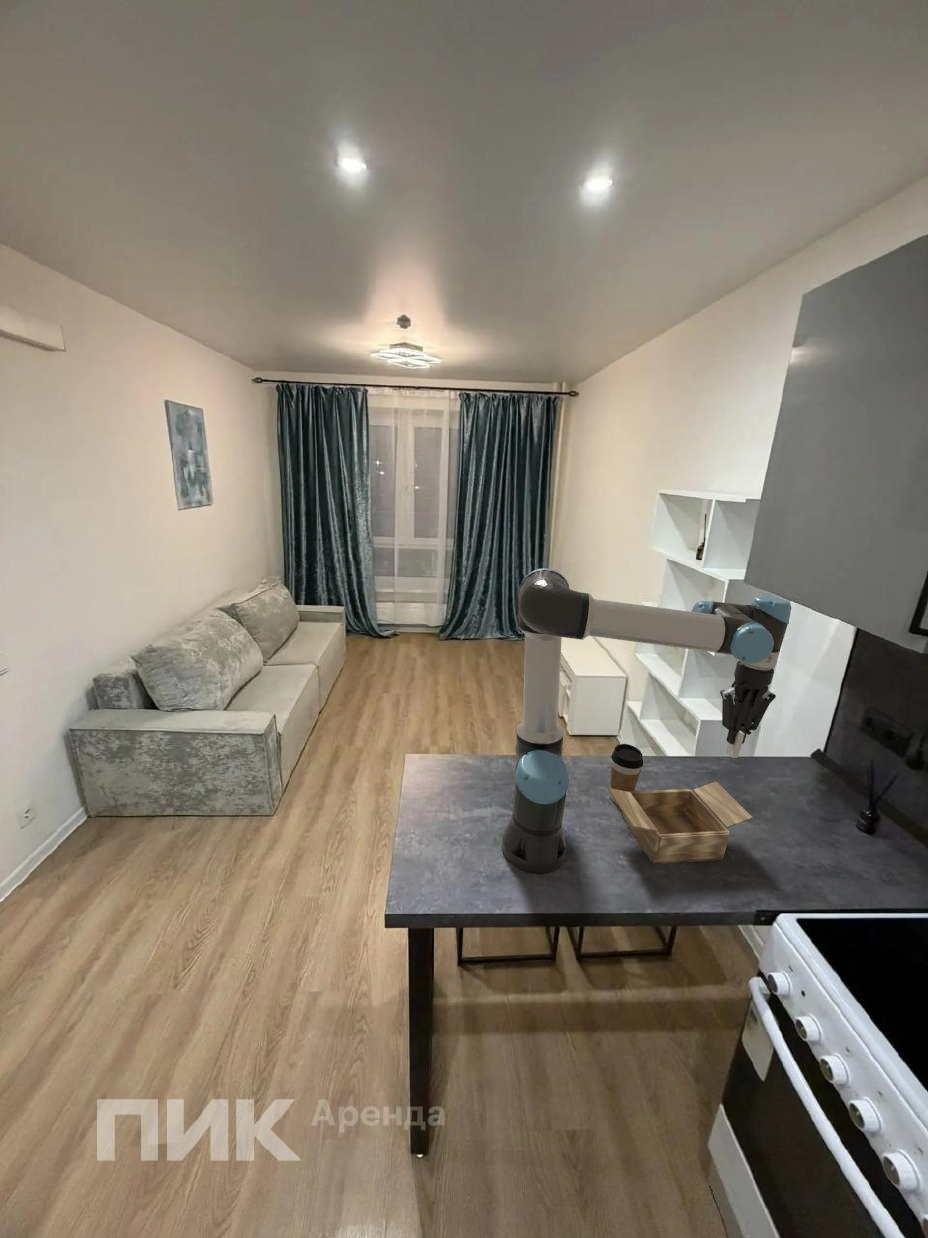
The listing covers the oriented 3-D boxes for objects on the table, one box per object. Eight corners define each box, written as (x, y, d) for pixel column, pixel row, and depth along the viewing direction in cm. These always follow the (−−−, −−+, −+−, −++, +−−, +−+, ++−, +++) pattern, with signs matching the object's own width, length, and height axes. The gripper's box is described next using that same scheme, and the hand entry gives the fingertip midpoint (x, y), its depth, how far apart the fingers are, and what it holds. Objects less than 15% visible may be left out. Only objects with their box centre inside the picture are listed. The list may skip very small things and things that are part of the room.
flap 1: (657, 832, 115) (632, 827, 114) (629, 793, 128) (607, 789, 127) (657, 830, 115) (633, 826, 114) (630, 792, 128) (608, 787, 127)
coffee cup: (632, 790, 144) (640, 744, 139) (639, 809, 135) (648, 762, 131) (602, 787, 144) (610, 741, 140) (607, 806, 136) (615, 758, 132)
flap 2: (727, 826, 118) (752, 817, 118) (693, 789, 131) (716, 781, 131) (727, 828, 118) (752, 818, 118) (693, 790, 131) (716, 782, 131)
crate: (653, 866, 116) (659, 837, 114) (622, 817, 132) (626, 791, 130) (724, 861, 119) (731, 833, 117) (684, 813, 135) (690, 788, 133)
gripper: (741, 670, 109) (716, 764, 116) (793, 671, 111) (766, 763, 118) (719, 657, 116) (697, 746, 123) (769, 658, 118) (745, 745, 125)
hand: (731, 754), depth 120 cm, fingers closed
